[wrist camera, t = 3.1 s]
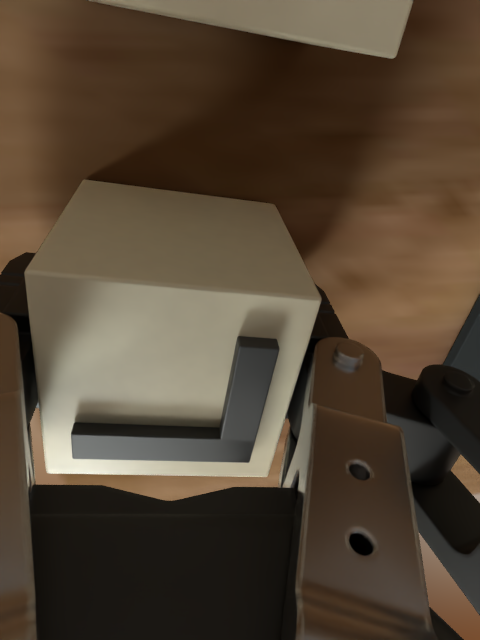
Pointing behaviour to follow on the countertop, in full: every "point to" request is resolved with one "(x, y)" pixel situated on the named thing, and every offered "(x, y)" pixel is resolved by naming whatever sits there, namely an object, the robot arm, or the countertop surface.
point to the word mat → (467, 345)
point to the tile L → (166, 332)
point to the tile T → (297, 20)
